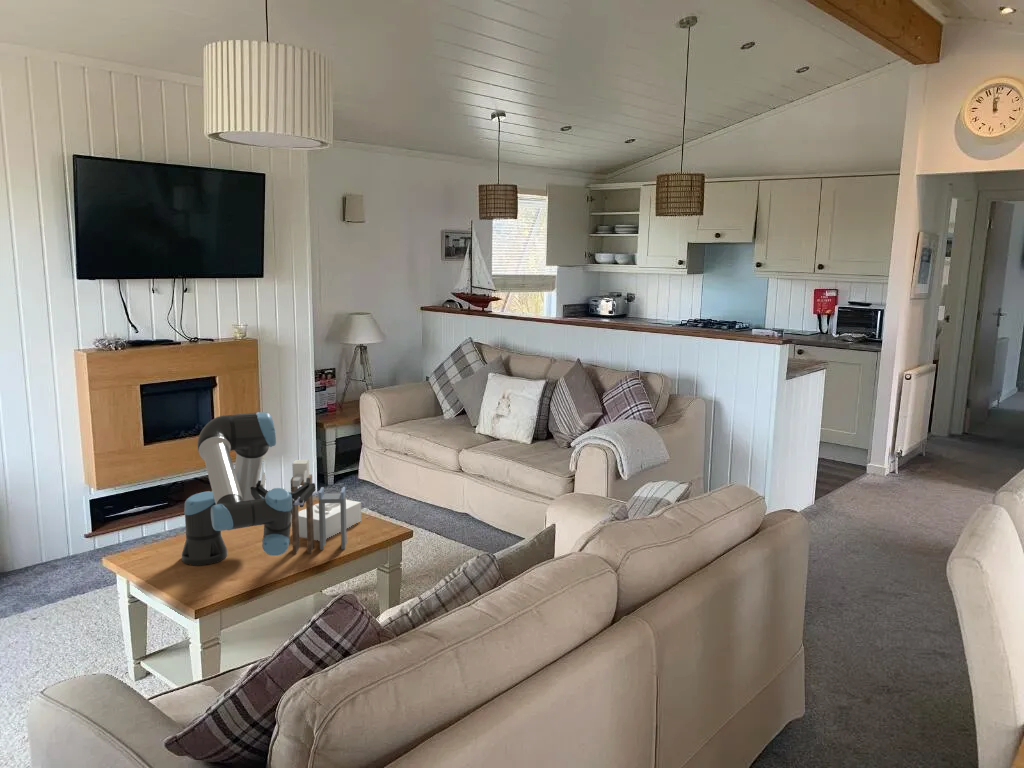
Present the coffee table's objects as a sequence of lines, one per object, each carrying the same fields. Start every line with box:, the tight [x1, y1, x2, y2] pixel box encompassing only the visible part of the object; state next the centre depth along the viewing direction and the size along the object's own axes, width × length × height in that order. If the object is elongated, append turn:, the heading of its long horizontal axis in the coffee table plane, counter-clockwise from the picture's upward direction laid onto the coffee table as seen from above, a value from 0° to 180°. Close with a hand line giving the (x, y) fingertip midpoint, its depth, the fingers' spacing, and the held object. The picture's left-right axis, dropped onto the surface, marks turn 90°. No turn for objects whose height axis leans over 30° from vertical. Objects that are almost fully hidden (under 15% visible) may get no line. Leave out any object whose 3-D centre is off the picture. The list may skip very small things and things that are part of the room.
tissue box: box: [298, 497, 362, 542], centre depth 308 cm, size 14×25×11 cm, turn 155°
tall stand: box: [290, 474, 315, 555], centre depth 283 cm, size 6×7×28 cm
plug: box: [291, 459, 310, 488], centre depth 276 cm, size 5×14×6 cm, turn 6°
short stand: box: [318, 486, 348, 551], centre depth 288 cm, size 9×7×22 cm
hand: (285, 474), depth 257 cm, fingers open, 13 cm apart
